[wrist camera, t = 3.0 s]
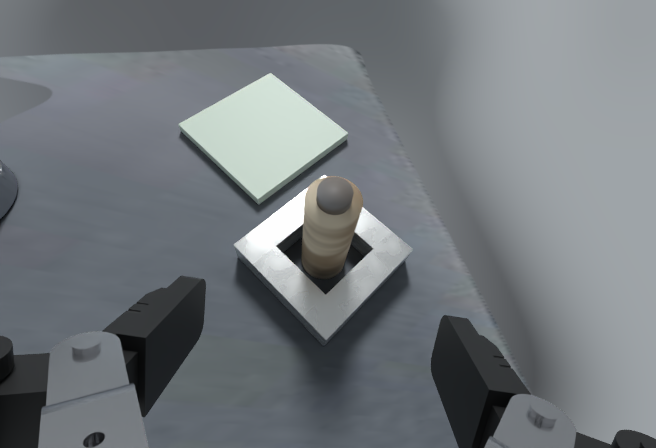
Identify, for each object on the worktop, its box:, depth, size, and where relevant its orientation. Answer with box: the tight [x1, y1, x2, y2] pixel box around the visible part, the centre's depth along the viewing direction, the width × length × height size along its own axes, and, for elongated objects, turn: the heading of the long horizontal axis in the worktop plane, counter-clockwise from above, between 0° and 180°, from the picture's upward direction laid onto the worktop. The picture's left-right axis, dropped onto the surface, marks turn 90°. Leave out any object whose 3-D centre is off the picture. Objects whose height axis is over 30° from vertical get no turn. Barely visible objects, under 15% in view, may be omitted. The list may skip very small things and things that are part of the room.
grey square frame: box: [234, 175, 413, 346], centre depth 32 cm, size 11×11×2 cm
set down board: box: [178, 73, 348, 205], centre depth 39 cm, size 13×13×1 cm
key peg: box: [301, 176, 363, 279], centre depth 28 cm, size 4×4×11 cm
